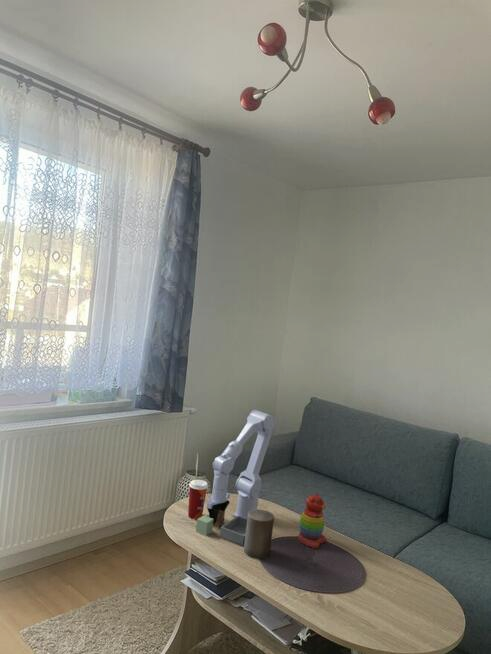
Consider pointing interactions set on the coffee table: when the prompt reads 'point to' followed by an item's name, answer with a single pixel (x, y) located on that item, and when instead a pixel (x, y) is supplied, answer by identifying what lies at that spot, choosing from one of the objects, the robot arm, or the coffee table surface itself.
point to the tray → (234, 531)
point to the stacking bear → (312, 522)
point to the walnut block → (219, 519)
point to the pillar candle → (258, 533)
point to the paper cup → (197, 498)
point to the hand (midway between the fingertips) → (216, 520)
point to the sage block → (204, 525)
